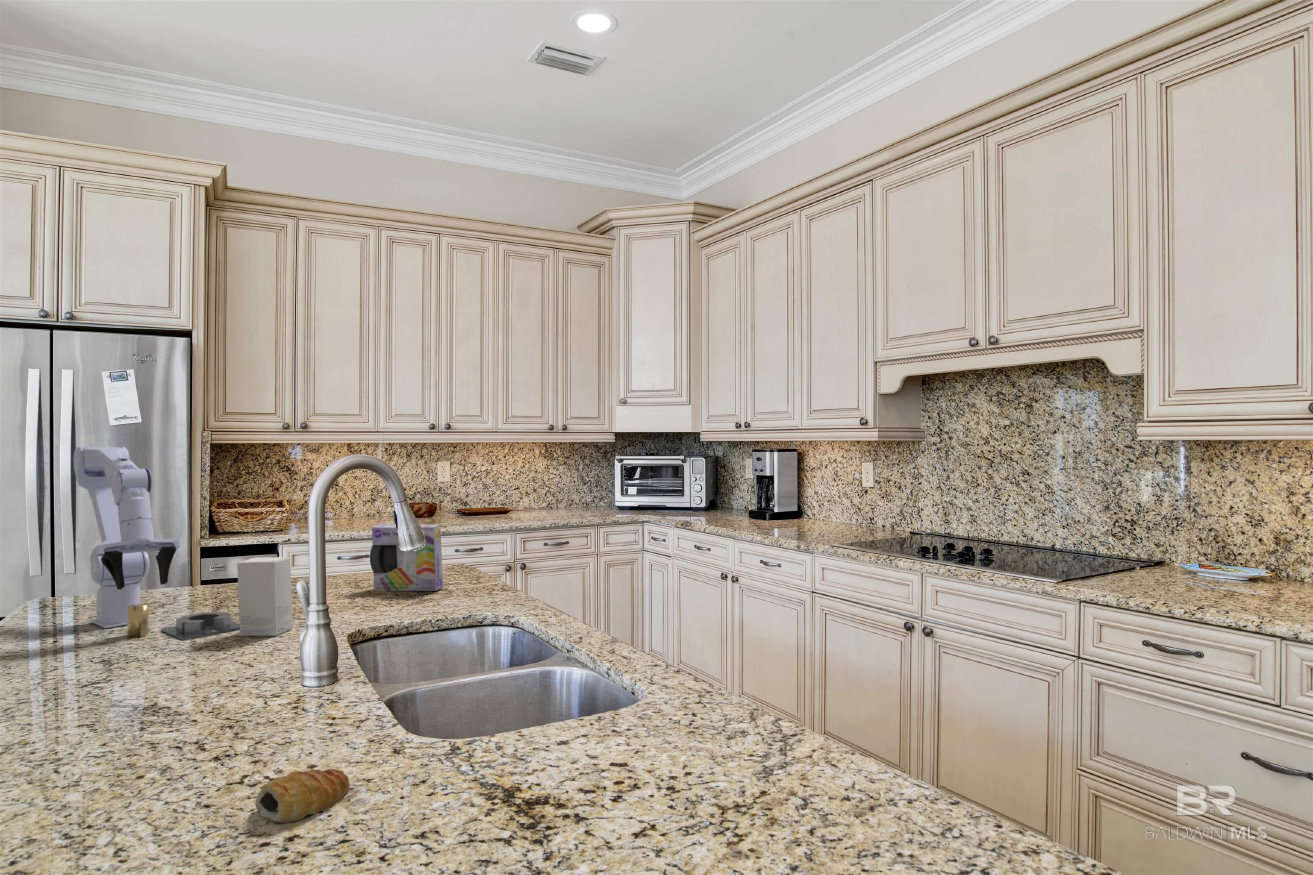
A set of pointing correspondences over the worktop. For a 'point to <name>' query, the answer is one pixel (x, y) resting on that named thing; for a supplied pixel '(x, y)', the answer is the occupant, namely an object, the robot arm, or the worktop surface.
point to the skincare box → (265, 596)
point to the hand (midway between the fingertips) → (143, 585)
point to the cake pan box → (406, 561)
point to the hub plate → (208, 631)
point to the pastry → (301, 794)
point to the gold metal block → (138, 620)
